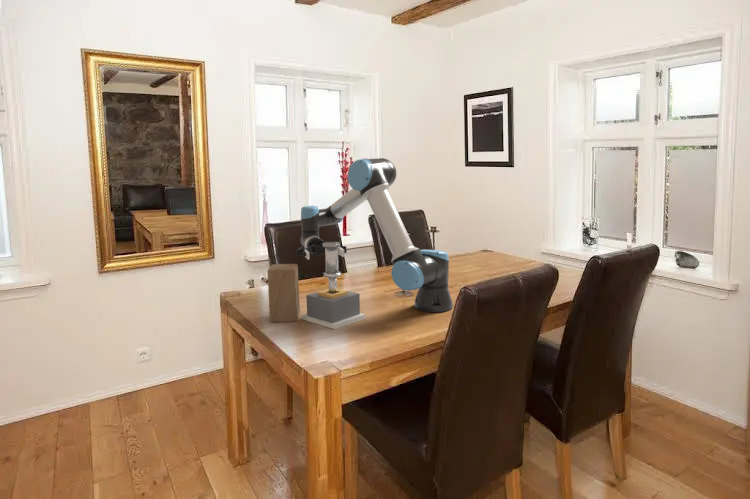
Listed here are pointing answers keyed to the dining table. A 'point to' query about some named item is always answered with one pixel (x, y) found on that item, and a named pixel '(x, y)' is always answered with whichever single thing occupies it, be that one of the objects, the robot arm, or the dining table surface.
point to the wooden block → (283, 292)
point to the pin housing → (333, 308)
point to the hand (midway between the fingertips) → (326, 254)
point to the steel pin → (332, 264)
